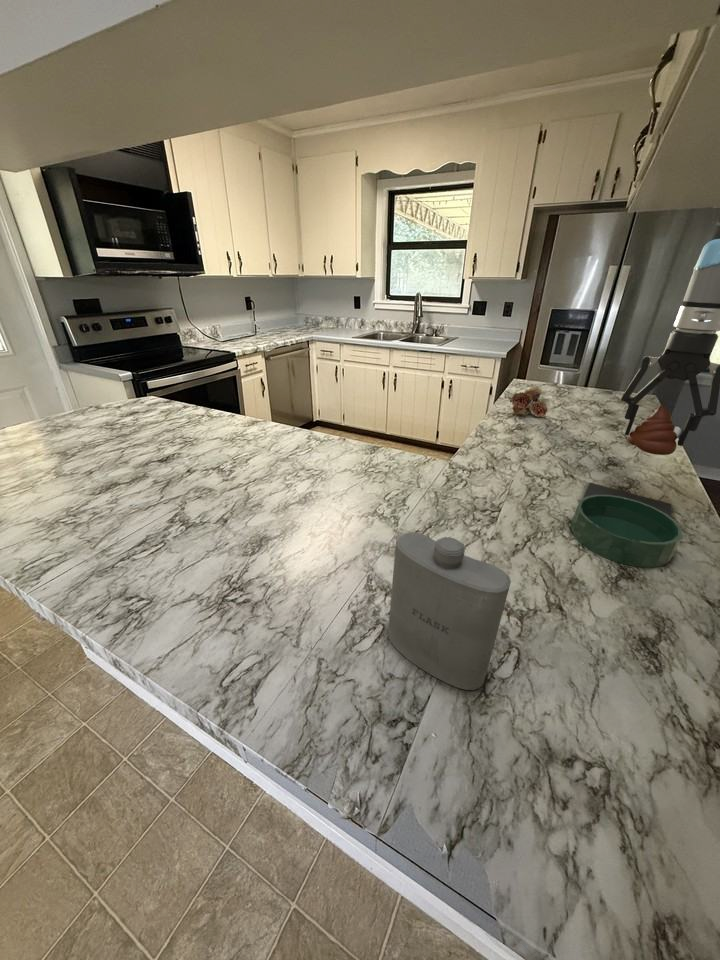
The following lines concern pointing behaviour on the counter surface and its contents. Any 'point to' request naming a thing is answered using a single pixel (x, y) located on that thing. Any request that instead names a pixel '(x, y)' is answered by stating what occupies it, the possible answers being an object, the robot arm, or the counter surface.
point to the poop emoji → (656, 433)
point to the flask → (445, 608)
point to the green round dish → (626, 530)
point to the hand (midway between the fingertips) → (652, 438)
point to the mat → (602, 490)
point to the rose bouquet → (529, 402)
